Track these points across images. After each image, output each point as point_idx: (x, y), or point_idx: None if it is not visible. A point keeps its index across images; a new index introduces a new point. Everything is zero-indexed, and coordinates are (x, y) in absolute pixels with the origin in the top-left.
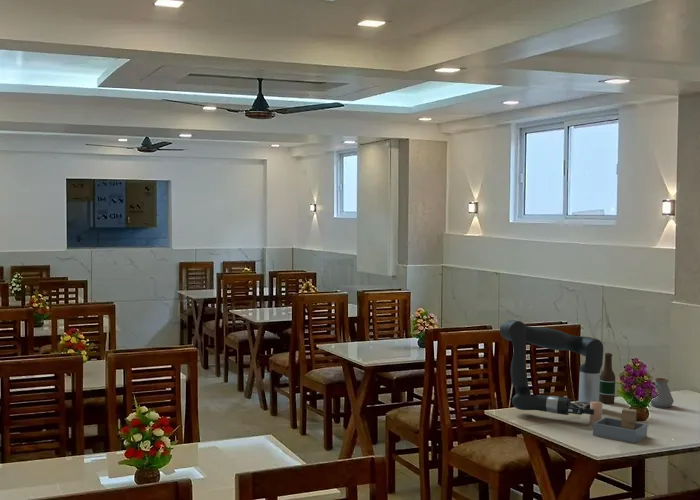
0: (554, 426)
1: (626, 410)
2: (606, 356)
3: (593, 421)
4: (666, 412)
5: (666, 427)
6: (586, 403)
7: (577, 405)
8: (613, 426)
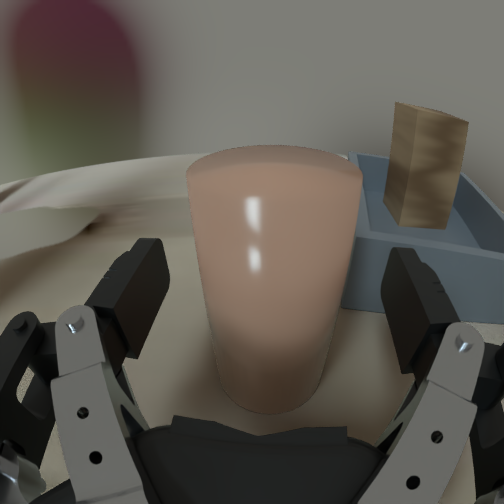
0: None
1: (445, 114)
2: None
3: (327, 353)
4: (21, 197)
5: (179, 176)
6: (32, 340)
7: (455, 454)
8: (494, 208)
